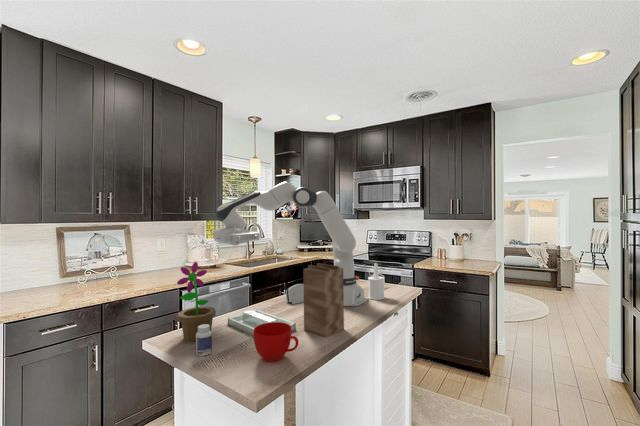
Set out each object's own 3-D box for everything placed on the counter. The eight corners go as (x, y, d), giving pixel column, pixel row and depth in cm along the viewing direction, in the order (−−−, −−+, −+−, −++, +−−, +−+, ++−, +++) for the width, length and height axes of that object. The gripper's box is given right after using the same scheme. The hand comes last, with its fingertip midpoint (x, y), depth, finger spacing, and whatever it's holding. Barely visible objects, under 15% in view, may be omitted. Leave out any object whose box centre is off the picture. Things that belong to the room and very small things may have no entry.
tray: (257, 315, 153) (257, 309, 153) (295, 329, 134) (295, 323, 134) (227, 323, 141) (227, 318, 141) (265, 341, 122) (265, 334, 122)
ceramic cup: (286, 373, 98) (286, 341, 98) (245, 361, 106) (245, 331, 106) (308, 356, 109) (308, 327, 109) (269, 346, 117) (269, 319, 117)
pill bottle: (214, 352, 113) (214, 325, 113) (200, 358, 109) (200, 330, 109) (207, 348, 116) (207, 322, 116) (193, 353, 112) (192, 326, 112)
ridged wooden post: (323, 322, 142) (322, 262, 142) (343, 328, 134) (343, 265, 133) (304, 329, 133) (303, 266, 133) (324, 337, 125) (323, 269, 125)
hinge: (292, 304, 170) (288, 286, 172) (287, 305, 173) (283, 287, 175) (314, 298, 181) (310, 281, 184) (309, 299, 184) (305, 282, 187)
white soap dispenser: (374, 301, 174) (374, 265, 174) (364, 297, 182) (364, 262, 182) (389, 298, 179) (389, 263, 179) (379, 294, 188) (378, 261, 187)
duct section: (250, 318, 147) (249, 309, 147) (276, 329, 133) (276, 319, 133) (242, 320, 144) (242, 311, 144) (269, 331, 130) (269, 322, 130)
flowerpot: (206, 327, 137) (205, 259, 137) (222, 336, 127) (221, 262, 127) (172, 337, 127) (171, 263, 127) (186, 348, 117) (184, 267, 117)
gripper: (214, 231, 152) (229, 232, 142) (250, 229, 167) (266, 230, 157) (214, 244, 152) (229, 246, 142) (250, 241, 167) (266, 242, 157)
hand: (249, 238), depth 150 cm, fingers open, 8 cm apart
